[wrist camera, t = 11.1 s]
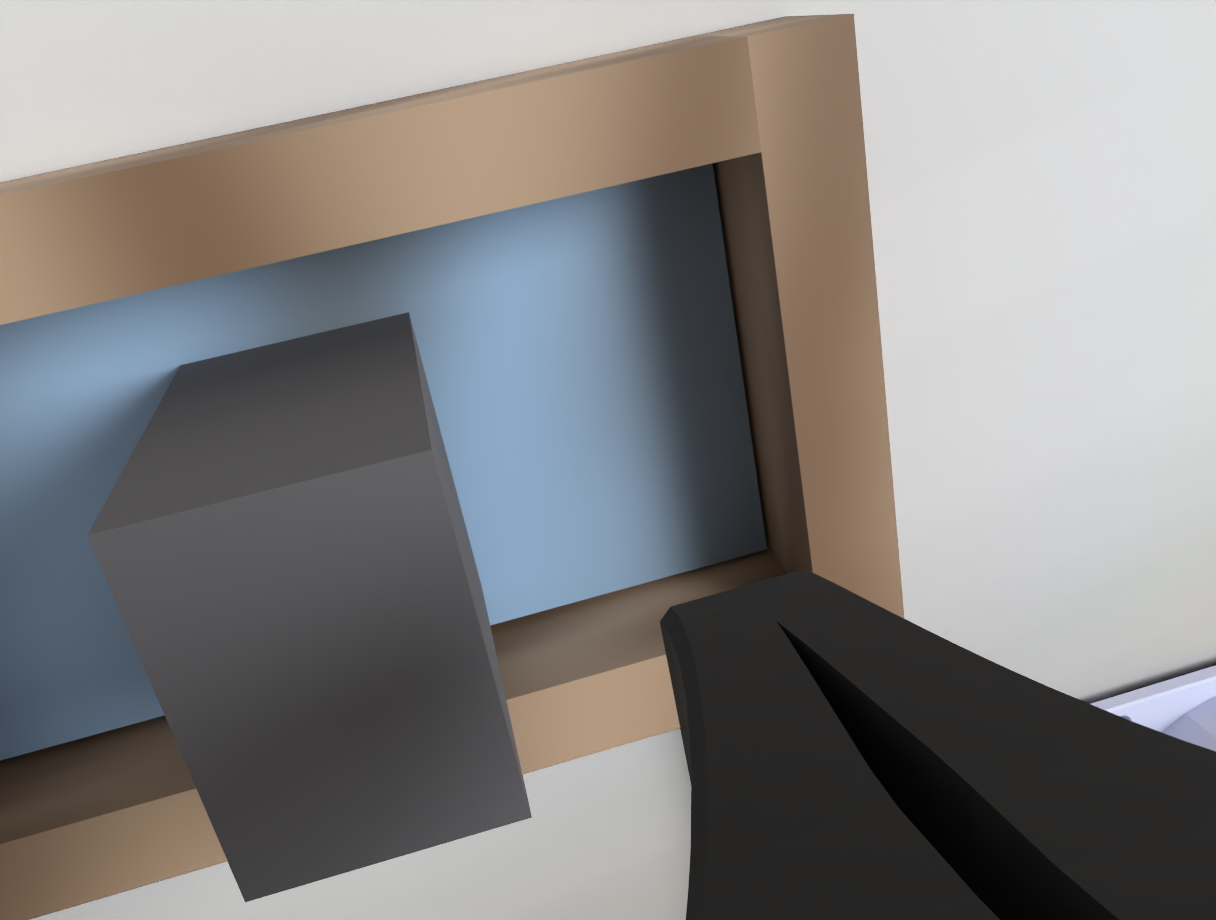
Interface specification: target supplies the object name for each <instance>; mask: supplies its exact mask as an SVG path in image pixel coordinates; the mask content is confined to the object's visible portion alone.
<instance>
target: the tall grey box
mask: <svg viewBox="0 0 1216 920" xmlns="http://www.w3.org/2000/svg"><path fill="white" fill-rule="evenodd" d="M87 536H88V538H89V541H90V543H91V545H92V548H93V550H94V552H95V555H96V557H97V559H98V562H99V564H100V566H101V568H102V571H103V573H104V575H105V578H106V580H107V582H108V585H109V587H110V589H111V592H112V594H113V596H114V599H115V601H116V603H117V606H118V608H119V610H120V613H121V615H122V617H123V620H124V622H125V624H126V626H127V629H128V631H129V633H130V636H131V638H132V640H133V643H134V645H135V647H136V650H137V652H138V654H139V657H140V659H141V661H142V664H143V666H144V668H145V671H146V673H147V675H148V678H149V680H150V682H151V684H152V687H153V689H154V691H155V694H156V696H157V698H158V701H159V703H160V705H161V708H162V710H163V712H164V715H165V717H166V719H167V722H168V724H169V726H170V729H171V731H172V733H173V736H174V738H175V740H176V742H177V745H178V747H179V749H180V752H181V754H182V756H183V759H184V761H185V763H186V766H187V768H188V770H189V773H190V775H191V777H192V780H193V782H194V784H195V787H196V789H197V791H198V794H199V796H200V798H201V800H202V803H203V805H204V807H205V810H206V812H207V814H208V817H209V819H210V821H211V824H212V826H213V828H214V831H215V833H216V835H217V838H218V840H219V842H220V845H221V847H222V849H223V852H224V854H225V856H226V859H227V861H228V863H229V865H230V868H231V870H232V872H233V875H234V877H235V879H236V882H237V884H238V886H239V889H240V891H241V893H242V896H243V898H244V900H245V902H247V901H251V900H254V899H258V898H261V897H264V896H268V895H271V894H274V893H278V892H281V891H285V890H288V889H291V888H295V887H298V886H301V885H305V884H308V883H312V882H315V881H318V880H322V879H325V878H328V877H332V876H335V875H339V874H342V873H345V872H349V871H352V870H355V869H359V868H362V867H366V866H369V865H372V864H376V863H379V862H382V861H386V860H389V859H393V858H396V857H399V856H403V855H406V854H409V853H413V852H416V851H420V850H423V849H426V848H430V847H433V846H436V845H440V844H443V843H447V842H450V841H453V840H457V839H460V838H463V837H467V836H470V835H474V834H477V833H480V832H484V831H487V830H490V829H494V828H497V827H501V826H504V825H507V824H511V823H514V822H517V821H521V820H524V819H528V818H531V812H530V807H529V803H528V798H527V794H526V789H525V784H524V780H523V775H522V770H521V766H520V761H519V757H518V752H517V747H516V743H515V738H514V733H513V729H512V724H511V719H510V715H509V710H508V706H507V701H506V696H505V692H504V687H503V682H502V678H501V673H500V669H499V664H498V659H497V655H496V650H495V645H494V641H493V636H492V631H491V627H490V622H489V618H488V613H487V608H486V604H485V599H484V594H483V590H482V585H481V582H480V578H479V574H478V570H477V567H476V563H475V559H474V555H473V552H472V548H471V544H470V540H469V536H468V533H467V529H466V525H465V521H464V518H463V514H462V510H461V506H460V503H459V499H458V495H457V491H456V488H455V484H454V480H453V476H452V472H451V469H450V465H449V461H448V457H447V454H446V450H445V446H444V442H443V439H442V435H441V431H440V427H439V424H438V420H437V416H436V412H435V408H434V405H433V401H432V397H431V393H430V390H429V386H428V382H427V378H426V375H425V371H424V367H423V363H422V360H421V356H420V352H419V348H418V344H417V341H416V337H415V333H414V329H413V326H412V322H411V318H410V314H409V312H407V313H403V314H398V315H394V316H390V317H386V318H381V319H377V320H373V321H368V322H364V323H360V324H355V325H351V326H347V327H343V328H338V329H334V330H330V331H325V332H321V333H317V334H312V335H308V336H304V337H299V338H295V339H291V340H287V341H282V342H278V343H274V344H269V345H265V346H261V347H256V348H252V349H248V350H244V351H239V352H235V353H231V354H226V355H222V356H218V357H213V358H209V359H205V360H201V361H196V362H192V363H188V364H183V365H180V367H179V369H178V371H177V373H176V374H175V376H174V378H173V380H172V382H171V384H170V385H169V387H168V389H167V391H166V393H165V394H164V396H163V398H162V400H161V402H160V404H159V405H158V407H157V409H156V411H155V413H154V415H153V416H152V418H151V420H150V422H149V424H148V425H147V427H146V429H145V431H144V433H143V435H142V436H141V438H140V440H139V442H138V444H137V446H136V447H135V449H134V451H133V453H132V455H131V457H130V458H129V460H128V462H127V464H126V466H125V467H124V469H123V471H122V473H121V475H120V477H119V478H118V480H117V482H116V484H115V486H114V488H113V489H112V491H111V493H110V495H109V497H108V498H107V500H106V502H105V504H104V506H103V508H102V509H101V511H100V513H99V515H98V517H97V519H96V520H95V522H94V524H93V526H92V528H91V529H90V531H89V533H88V535H87Z"/></svg>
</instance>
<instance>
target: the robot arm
mask: <svg viewBox="0 0 1216 920" xmlns="http://www.w3.org/2000/svg"><path fill="white" fill-rule="evenodd" d="M660 626H661V631H662V637H663V642H664V647H665V652H666V657H667V662H668V667H669V673H670V678H671V683H672V688H673V693H674V698H675V703H676V709H677V714H678V719H679V724H680V729H681V734H682V739H683V745H684V750H685V755H686V760H687V765H688V770H689V775H690V781H691V786H692V791H691V856H690V873H689V889H688V902H687V914H686V920H1216V665H1215V666H1212V667H1209V668H1205V669H1202V670H1199V671H1196V672H1192V673H1189V674H1186V675H1183V676H1179V677H1176V678H1173V679H1170V680H1166V681H1163V682H1160V683H1156V684H1153V685H1150V686H1147V687H1143V688H1140V689H1137V690H1134V691H1130V692H1127V693H1124V694H1121V695H1117V696H1114V697H1111V698H1108V699H1104V700H1101V701H1098V702H1094V703H1091V704H1089V703H1086V702H1084V701H1081V700H1079V699H1076V698H1074V697H1071V696H1069V695H1067V694H1064V693H1062V692H1059V691H1057V690H1054V689H1052V688H1050V687H1047V686H1045V685H1043V684H1041V683H1038V682H1036V681H1034V680H1032V679H1029V678H1027V677H1025V676H1023V675H1020V674H1018V673H1016V672H1014V671H1011V670H1009V669H1007V668H1005V667H1003V666H1000V665H998V664H996V663H994V662H992V661H990V660H987V659H985V658H983V657H981V656H979V655H977V654H975V653H973V652H971V651H969V650H966V649H964V648H962V647H960V646H958V645H956V644H954V643H952V642H950V641H948V640H946V639H944V638H942V637H940V636H938V635H936V634H934V633H932V632H929V631H927V630H925V629H923V628H921V627H919V626H917V625H915V624H913V623H911V622H910V621H908V620H906V619H904V618H902V617H900V616H898V615H896V614H894V613H892V612H890V611H888V610H886V609H884V608H882V607H880V606H878V605H876V604H874V603H872V602H870V601H868V600H866V599H864V598H862V597H861V596H859V595H857V594H855V593H853V592H851V591H849V590H847V589H845V588H843V587H841V586H839V585H837V584H835V583H833V582H831V581H829V580H827V579H825V578H823V577H821V576H819V575H817V574H814V573H812V572H810V571H808V570H806V569H803V570H800V571H796V572H792V573H789V574H785V575H782V576H778V577H775V578H771V579H767V580H764V581H760V582H757V583H753V584H749V585H746V586H742V587H739V588H735V589H732V590H728V591H724V592H721V593H717V594H714V595H710V596H707V597H703V598H699V599H696V600H692V601H689V602H685V603H681V604H678V605H674V606H671V607H670V608H669V609H668V611H667V612H666V613H665V615H664V616H663V618H662V619H661V620H660Z"/></svg>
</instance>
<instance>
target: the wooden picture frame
mask: <svg viewBox="0 0 1216 920" xmlns="http://www.w3.org/2000/svg"><path fill="white" fill-rule="evenodd" d="M407 312H409V314H410V318H411V322H412V326H413V329H414V333H415V337H416V341H417V344H418V348H419V352H420V356H421V360H422V363H423V367H424V371H425V375H426V378H427V382H428V386H429V390H430V393H431V397H432V401H433V405H434V408H435V412H436V416H437V420H438V424H439V427H440V431H441V435H442V439H443V442H444V446H445V450H446V454H447V457H448V461H449V465H450V469H451V472H452V476H453V480H454V484H455V488H456V491H457V495H458V499H459V503H460V506H461V510H462V514H463V518H464V521H465V525H466V529H467V533H468V536H469V540H470V544H471V548H472V552H473V555H474V559H475V563H476V567H477V570H478V574H479V578H480V582H481V585H482V590H483V594H484V599H485V604H486V608H487V613H488V618H489V622H490V627H491V631H492V636H493V641H494V645H495V650H496V655H497V659H498V664H499V669H500V673H501V678H502V682H503V687H504V692H505V696H506V701H507V706H508V710H509V715H510V719H511V724H512V729H513V733H514V738H515V743H516V747H517V752H518V757H519V761H520V766H521V770H522V774H526V773H529V772H532V771H536V770H539V769H543V768H546V767H549V766H553V765H556V764H560V763H563V762H566V761H570V760H573V759H577V758H580V757H583V756H587V755H590V754H594V753H597V752H600V751H604V750H607V749H611V748H614V747H617V746H621V745H624V744H628V743H631V742H634V741H638V740H641V739H645V738H648V737H651V736H655V735H658V734H662V733H665V732H668V731H672V730H675V729H679V728H680V724H679V719H678V714H677V709H676V703H675V698H674V693H673V688H672V683H671V678H670V673H669V667H668V662H667V657H666V652H665V647H664V642H663V637H662V631H661V626H660V620H661V619H662V618H663V616H664V615H665V613H666V612H667V611H668V609H669V608H670V607H671V606H674V605H678V604H681V603H685V602H689V601H692V600H696V599H699V598H703V597H707V596H710V595H714V594H717V593H721V592H724V591H728V590H732V589H735V588H739V587H742V586H746V585H749V584H753V583H757V582H760V581H764V580H767V579H771V578H775V577H778V576H782V575H785V574H789V573H792V572H796V571H800V570H803V569H806V570H808V571H810V572H812V573H814V574H817V575H819V576H821V577H823V578H825V579H827V580H829V581H831V582H833V583H835V584H837V585H839V586H841V587H843V588H845V589H847V590H849V591H851V592H853V593H855V594H857V595H859V596H861V597H862V598H864V599H866V600H868V601H870V602H872V603H874V604H876V605H878V606H880V607H882V608H884V609H886V610H888V611H890V612H892V613H894V614H896V615H898V616H900V617H902V618H904V610H903V598H902V586H901V574H900V562H899V550H898V538H897V526H896V515H895V503H894V491H893V479H892V467H891V455H890V443H889V431H888V419H887V407H886V395H885V383H884V371H883V359H882V347H881V335H880V323H879V312H878V300H877V288H876V276H875V264H874V252H873V240H872V228H871V216H870V204H869V192H868V180H867V168H866V156H865V144H864V132H863V120H862V108H861V97H860V85H859V73H858V61H857V49H856V37H855V25H854V14H839V15H814V16H789V17H782V18H777V19H772V20H767V21H763V22H758V23H753V24H748V25H744V26H739V27H734V28H730V29H725V30H720V31H715V32H711V33H706V34H701V35H696V36H692V37H687V38H682V39H678V40H673V41H668V42H663V43H659V44H654V45H649V46H644V47H640V48H635V49H630V50H625V51H621V52H616V53H611V54H607V55H602V56H597V57H592V58H588V59H583V60H578V61H573V62H569V63H564V64H559V65H554V66H550V67H545V68H540V69H536V70H531V71H526V72H521V73H517V74H512V75H507V76H502V77H498V78H493V79H488V80H484V81H479V82H474V83H469V84H465V85H460V86H455V87H450V88H446V89H441V90H436V91H431V92H427V93H422V94H417V95H413V96H408V97H403V98H398V99H394V100H389V101H384V102H379V103H375V104H370V105H365V106H360V107H356V108H351V109H346V110H342V111H337V112H332V113H327V114H323V115H318V116H313V117H308V118H304V119H299V120H294V121H290V122H285V123H280V124H275V125H271V126H266V127H261V128H256V129H252V130H247V131H242V132H237V133H233V134H228V135H223V136H219V137H214V138H209V139H204V140H200V141H195V142H190V143H185V144H181V145H176V146H171V147H166V148H162V149H157V150H152V151H148V152H143V153H138V154H133V155H129V156H124V157H119V158H114V159H110V160H105V161H100V162H96V163H91V164H86V165H81V166H77V167H72V168H67V169H62V170H58V171H53V172H48V173H43V174H39V175H34V176H29V177H25V178H20V179H15V180H10V181H6V182H1V183H0V920H29V919H33V918H36V917H40V916H43V915H46V914H50V913H53V912H57V911H60V910H63V909H67V908H70V907H74V906H77V905H80V904H84V903H87V902H91V901H94V900H97V899H101V898H104V897H108V896H111V895H114V894H118V893H121V892H125V891H128V890H131V889H135V888H138V887H142V886H145V885H148V884H152V883H155V882H159V881H162V880H165V879H169V878H172V877H176V876H179V875H182V874H186V873H189V872H192V871H196V870H199V869H203V868H206V867H209V866H213V865H216V864H220V863H223V862H226V861H227V859H226V856H225V854H224V852H223V849H222V847H221V845H220V842H219V840H218V838H217V835H216V833H215V831H214V828H213V826H212V824H211V821H210V819H209V817H208V814H207V812H206V810H205V807H204V805H203V803H202V800H201V798H200V796H199V794H198V791H197V789H196V787H195V784H194V782H193V780H192V777H191V775H190V773H189V770H188V768H187V766H186V763H185V761H184V759H183V756H182V754H181V752H180V749H179V747H178V745H177V742H176V740H175V738H174V736H173V733H172V731H171V729H170V726H169V724H168V722H167V719H166V717H165V715H164V712H163V710H162V708H161V705H160V703H159V701H158V698H157V696H156V694H155V691H154V689H153V687H152V684H151V682H150V680H149V678H148V675H147V673H146V671H145V668H144V666H143V664H142V661H141V659H140V657H139V654H138V652H137V650H136V647H135V645H134V643H133V640H132V638H131V636H130V633H129V631H128V629H127V626H126V624H125V622H124V620H123V617H122V615H121V613H120V610H119V608H118V606H117V603H116V601H115V599H114V596H113V594H112V592H111V589H110V587H109V585H108V582H107V580H106V578H105V575H104V573H103V571H102V568H101V566H100V564H99V562H98V559H97V557H96V555H95V552H94V550H93V548H92V545H91V543H90V541H89V538H88V536H87V535H88V533H89V531H90V529H91V528H92V526H93V524H94V522H95V520H96V519H97V517H98V515H99V513H100V511H101V509H102V508H103V506H104V504H105V502H106V500H107V498H108V497H109V495H110V493H111V491H112V489H113V488H114V486H115V484H116V482H117V480H118V478H119V477H120V475H121V473H122V471H123V469H124V467H125V466H126V464H127V462H128V460H129V458H130V457H131V455H132V453H133V451H134V449H135V447H136V446H137V444H138V442H139V440H140V438H141V436H142V435H143V433H144V431H145V429H146V427H147V425H148V424H149V422H150V420H151V418H152V416H153V415H154V413H155V411H156V409H157V407H158V405H159V404H160V402H161V400H162V398H163V396H164V394H165V393H166V391H167V389H168V387H169V385H170V384H171V382H172V380H173V378H174V376H175V374H176V373H177V371H178V369H179V367H180V365H183V364H188V363H192V362H196V361H201V360H205V359H209V358H213V357H218V356H222V355H226V354H231V353H235V352H239V351H244V350H248V349H252V348H256V347H261V346H265V345H269V344H274V343H278V342H282V341H287V340H291V339H295V338H299V337H304V336H308V335H312V334H317V333H321V332H325V331H330V330H334V329H338V328H343V327H347V326H351V325H355V324H360V323H364V322H368V321H373V320H377V319H381V318H386V317H390V316H394V315H398V314H403V313H407Z"/></svg>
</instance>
